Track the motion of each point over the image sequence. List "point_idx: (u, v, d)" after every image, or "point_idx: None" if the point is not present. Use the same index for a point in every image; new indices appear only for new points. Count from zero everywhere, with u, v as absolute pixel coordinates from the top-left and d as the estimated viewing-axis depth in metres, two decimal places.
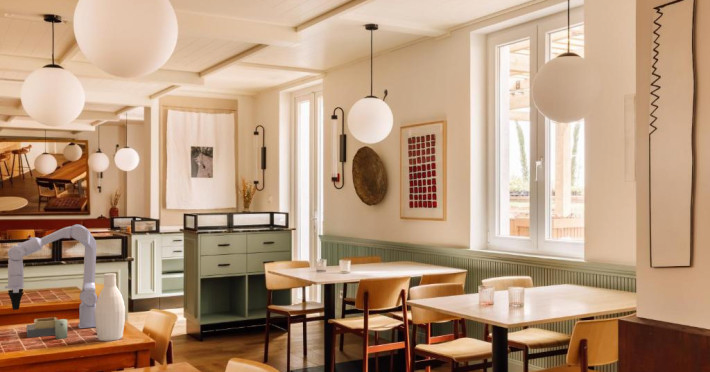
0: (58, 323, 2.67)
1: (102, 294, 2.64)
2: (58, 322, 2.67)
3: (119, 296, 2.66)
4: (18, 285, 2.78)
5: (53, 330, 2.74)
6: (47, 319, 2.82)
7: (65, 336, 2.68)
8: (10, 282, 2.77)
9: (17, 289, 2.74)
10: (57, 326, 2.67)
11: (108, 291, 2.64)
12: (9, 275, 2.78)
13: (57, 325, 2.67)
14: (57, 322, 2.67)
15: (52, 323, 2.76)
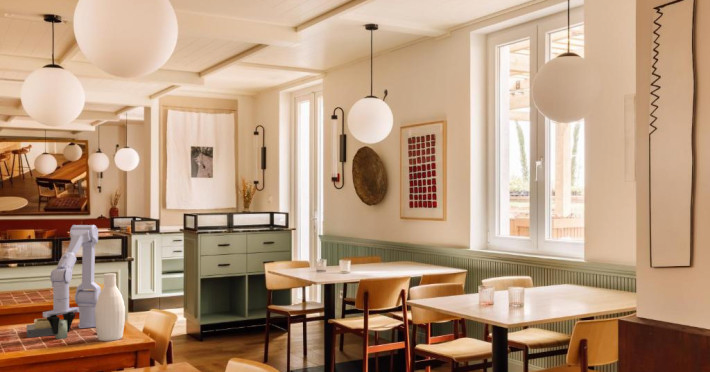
0: None
1: (102, 294, 2.64)
2: None
3: (119, 296, 2.66)
4: (56, 309, 2.67)
5: None
6: (47, 319, 2.82)
7: (65, 336, 2.68)
8: None
9: (45, 314, 2.63)
10: None
11: (108, 291, 2.64)
12: None
13: None
14: None
15: None
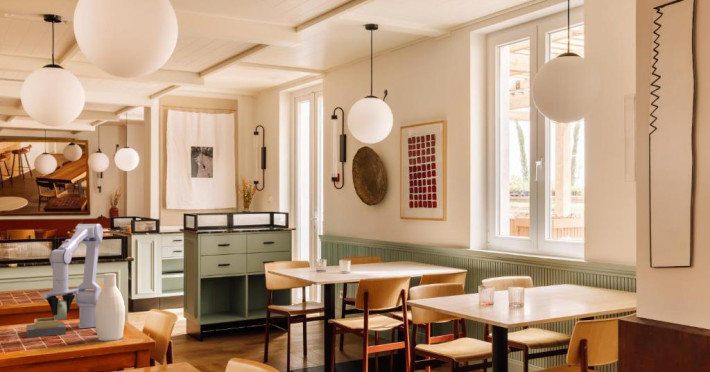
0: None
1: (102, 294, 2.64)
2: None
3: (119, 296, 2.66)
4: (55, 290, 2.67)
5: (53, 330, 2.74)
6: (47, 319, 2.82)
7: (64, 317, 2.69)
8: None
9: (44, 294, 2.64)
10: None
11: (108, 291, 2.64)
12: None
13: None
14: None
15: (52, 323, 2.76)
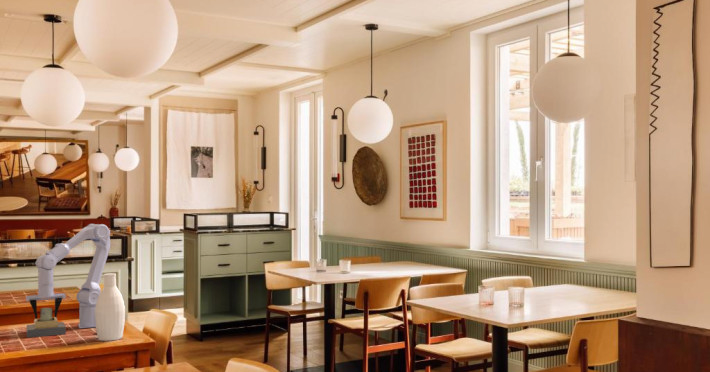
0: (41, 311, 2.77)
1: (102, 294, 2.64)
2: (41, 310, 2.77)
3: (119, 296, 2.66)
4: (38, 294, 2.77)
5: (53, 330, 2.74)
6: None
7: None
8: None
9: (26, 298, 2.75)
10: (41, 314, 2.77)
11: (108, 291, 2.64)
12: None
13: (41, 313, 2.77)
14: (41, 310, 2.77)
15: (52, 323, 2.76)
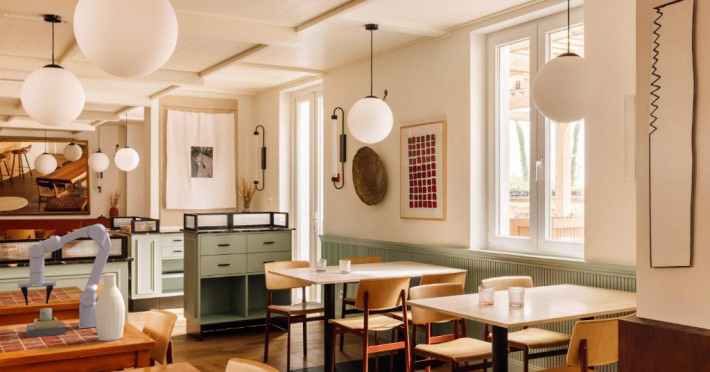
0: (41, 311, 2.77)
1: (102, 294, 2.64)
2: (41, 310, 2.77)
3: (119, 296, 2.66)
4: (30, 282, 2.85)
5: (53, 330, 2.74)
6: None
7: None
8: None
9: (18, 285, 2.84)
10: (40, 314, 2.77)
11: (108, 291, 2.64)
12: None
13: (40, 313, 2.77)
14: (40, 310, 2.77)
15: (52, 323, 2.76)
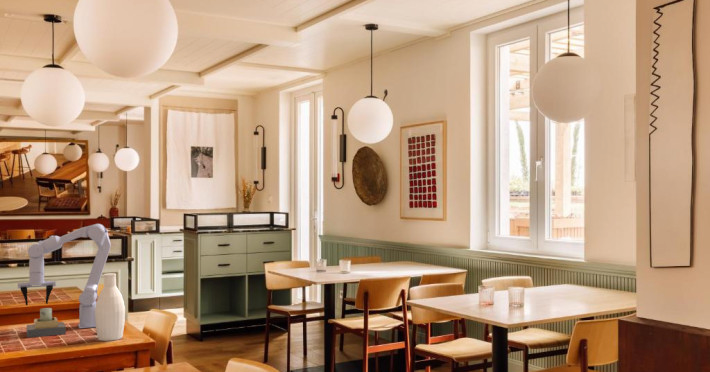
0: (41, 311, 2.77)
1: (102, 294, 2.64)
2: (41, 310, 2.77)
3: (119, 296, 2.66)
4: (29, 282, 2.86)
5: (53, 330, 2.74)
6: None
7: None
8: None
9: None
10: (40, 314, 2.77)
11: (108, 291, 2.64)
12: None
13: (40, 313, 2.77)
14: (40, 310, 2.77)
15: (52, 323, 2.76)
